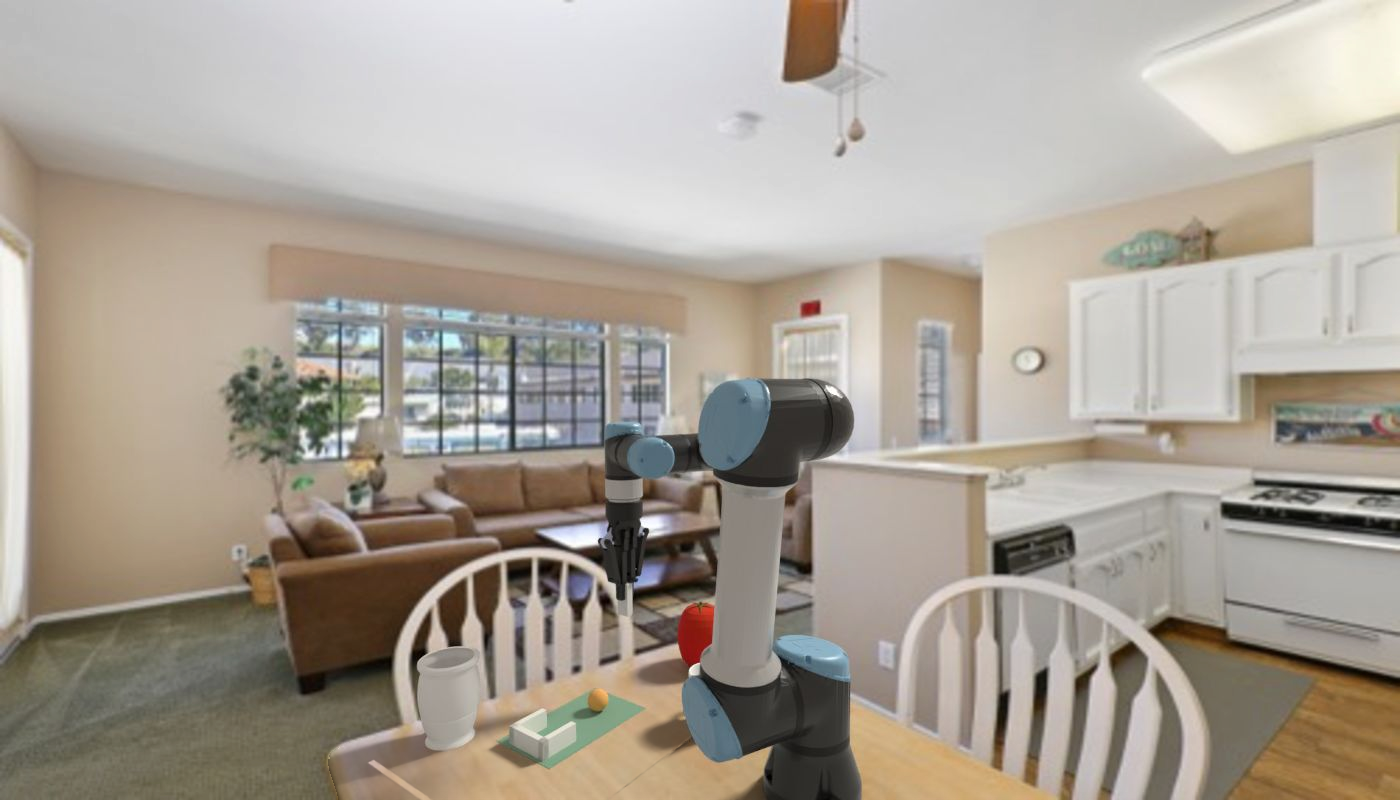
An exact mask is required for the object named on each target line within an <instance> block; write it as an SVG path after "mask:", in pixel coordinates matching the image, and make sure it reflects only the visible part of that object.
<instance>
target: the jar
mask: <svg viewBox="0 0 1400 800" xmlns="http://www.w3.org/2000/svg"><path fill="white" fill-rule="evenodd" d="M480 656H481V655H480V651H479V650H478V649H477V648H474V647H471V646H463V645H461V646H460V645H459V646H449V647H443V648H439V649H436V650H433V651H430V652H428V653H426V654H425V655H423V656H422V657H421V658H420V659H419V660H418V661H417V664H416V669H417V672H419V677H418V681H417V707H418V712H419V715H420V722H421V725H422V726H421V727H422V729H423V731H424V733H425V735H426V738H425V741H424V745H425V747H426V748H427V749H429V750H432V751H439V752H440V751H448V750H453V749H458V748H460V747H461V746H464V745H467V743H469V742H470V741H471V740H472V739H474V737H475V735H476V729H475V728H474V725H475V722H476V719H477V717H478V711H479V703H480V697H481V676H480V670H479V666H478V663H479V660H480Z"/></svg>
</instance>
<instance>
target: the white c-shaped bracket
mask: <svg viewBox="0 0 1400 800" xmlns="http://www.w3.org/2000/svg"><path fill="white" fill-rule="evenodd" d="M547 714H548V710H547V709H545V708H543V707H542V708H540V709H538V710H536V711H535V712H532V713H531V714H528V715H527V716H525V717H523V718H521V719H519V720H517V721H515V722H513V723H511V724H510V725H509V726H508V730H509V731H508V733H509V734H508V735H509V744H511V745H513V746H515V747H517V748H519V749H521V750H523V751H524V752H526V753H528V754H530V755H532V756H534V757H536V758H538V759H540V760H542V761H544V760H546V759H548V758H549V757H551V756H553V755H554V754H556V753H558V752H559V751H561V750H562V749H564V748H566V747H567V746H569V745H571V744H572V743H574V742H576V723H574V722H572V721H571V722H569V723H567V724H566V725H564V726H562V727H560V728H559V729H557V730H555V731H553V732H552V733H550V734H548V735H546V736H545V737H543V736H541V735H539V734H537V733H538V732H539V731H541V730H543V729H545V728H546V727H547Z"/></svg>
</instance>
